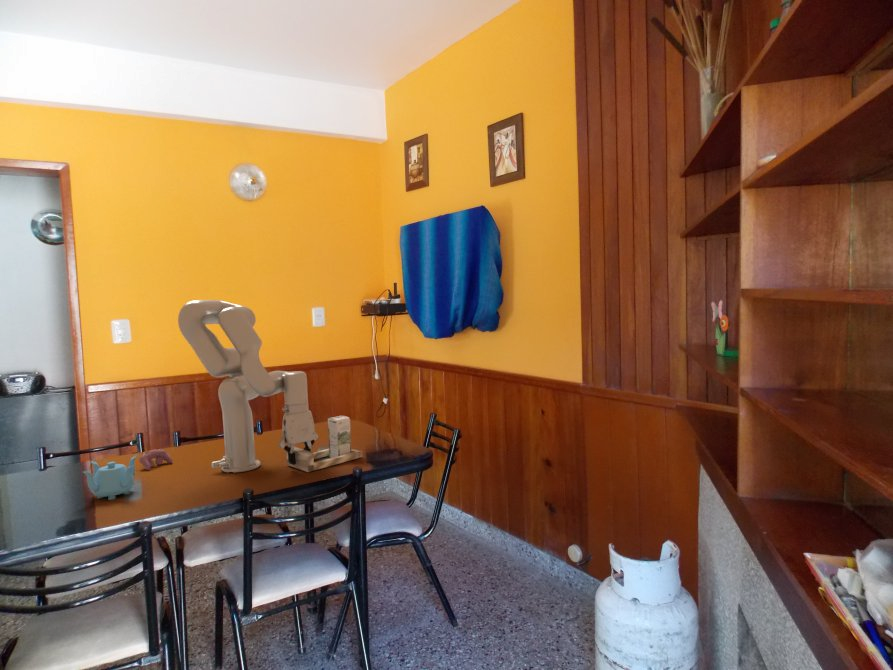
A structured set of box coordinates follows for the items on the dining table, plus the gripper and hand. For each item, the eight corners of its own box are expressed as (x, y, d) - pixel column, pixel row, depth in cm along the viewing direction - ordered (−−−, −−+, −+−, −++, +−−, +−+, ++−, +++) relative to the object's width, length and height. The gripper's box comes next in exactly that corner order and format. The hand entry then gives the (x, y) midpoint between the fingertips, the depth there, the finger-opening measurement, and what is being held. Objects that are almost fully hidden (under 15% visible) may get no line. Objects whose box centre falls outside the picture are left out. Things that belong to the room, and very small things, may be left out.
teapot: (94, 492, 176) (91, 460, 175) (142, 485, 181) (139, 454, 180) (84, 505, 164) (81, 471, 163) (136, 498, 169) (133, 464, 168)
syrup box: (342, 454, 208) (340, 415, 207) (352, 457, 204) (350, 416, 203) (329, 457, 204) (327, 417, 203) (338, 460, 200) (336, 419, 199)
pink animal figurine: (167, 466, 207) (161, 448, 208) (174, 462, 205) (167, 444, 206) (142, 474, 198) (135, 455, 200) (148, 469, 196) (141, 451, 197)
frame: (307, 472, 187) (306, 454, 186) (287, 465, 196) (286, 447, 195) (362, 457, 202) (361, 440, 202) (340, 451, 211) (339, 435, 211)
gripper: (279, 414, 182) (282, 470, 183) (324, 405, 194) (327, 458, 195) (267, 411, 187) (271, 466, 188) (312, 403, 199) (315, 454, 201)
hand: (299, 461), depth 192 cm, fingers open, 4 cm apart
